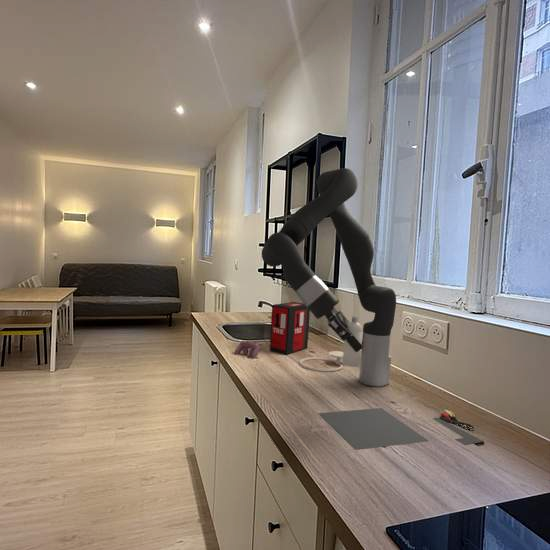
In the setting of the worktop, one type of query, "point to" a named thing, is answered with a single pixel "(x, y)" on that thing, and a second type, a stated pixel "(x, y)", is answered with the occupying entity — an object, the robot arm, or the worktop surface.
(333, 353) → the hand towel holder
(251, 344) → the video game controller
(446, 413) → the composite cable
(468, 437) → the smartphone
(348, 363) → the white pump bottle
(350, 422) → the mat
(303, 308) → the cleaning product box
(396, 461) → the worktop surface
